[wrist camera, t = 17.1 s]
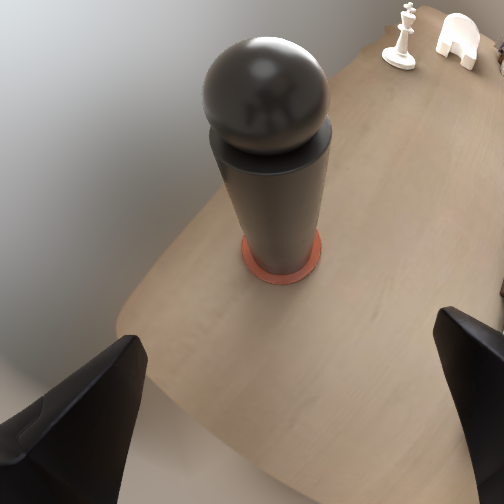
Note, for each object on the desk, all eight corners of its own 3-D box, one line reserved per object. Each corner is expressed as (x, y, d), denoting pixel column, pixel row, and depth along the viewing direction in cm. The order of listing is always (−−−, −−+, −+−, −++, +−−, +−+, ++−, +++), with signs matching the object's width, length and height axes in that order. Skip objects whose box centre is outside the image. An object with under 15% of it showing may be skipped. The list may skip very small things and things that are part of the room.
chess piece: (397, 49, 30) (407, -4, 21) (421, 67, 28) (436, 12, 19) (375, 53, 30) (383, -5, 20) (399, 71, 28) (414, 11, 19)
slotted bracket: (442, 32, 32) (449, 2, 25) (472, 48, 30) (482, 20, 23) (435, 51, 30) (445, 15, 22) (471, 71, 28) (485, 37, 20)
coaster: (297, 299, 20) (297, 298, 20) (227, 261, 22) (226, 259, 22) (333, 231, 22) (333, 229, 21) (266, 200, 23) (266, 197, 23)
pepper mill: (319, 266, 21) (371, 75, 6) (258, 282, 21) (185, 110, 6) (301, 211, 22) (306, 10, 7) (244, 226, 22) (177, 35, 7)
